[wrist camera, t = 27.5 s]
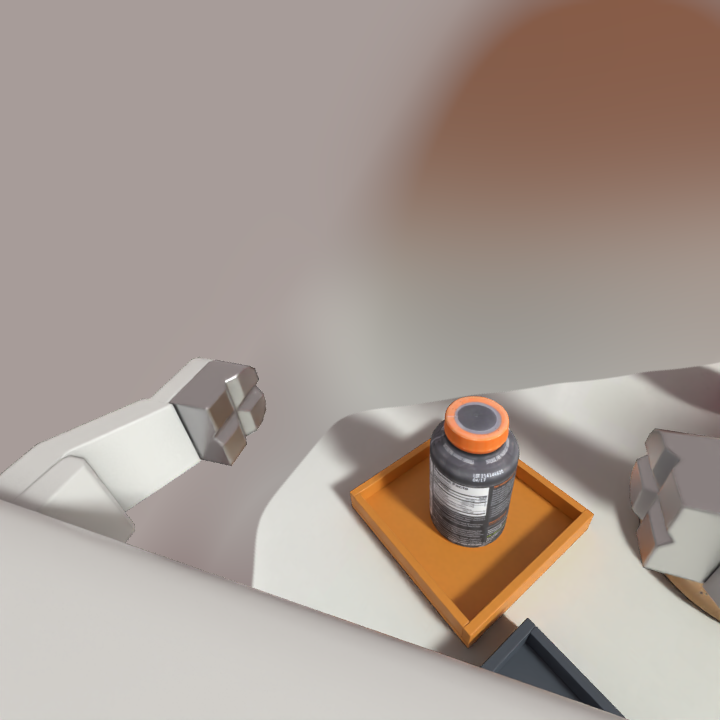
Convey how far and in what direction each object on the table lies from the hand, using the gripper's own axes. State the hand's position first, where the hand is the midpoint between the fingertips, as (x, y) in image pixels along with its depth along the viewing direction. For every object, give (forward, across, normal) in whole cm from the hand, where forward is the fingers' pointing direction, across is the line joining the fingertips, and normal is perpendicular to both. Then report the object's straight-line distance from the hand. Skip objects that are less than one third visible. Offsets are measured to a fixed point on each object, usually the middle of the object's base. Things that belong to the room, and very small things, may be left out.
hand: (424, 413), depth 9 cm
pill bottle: (+14, -1, +24) cm, 28 cm away
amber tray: (+14, 0, +25) cm, 28 cm away
